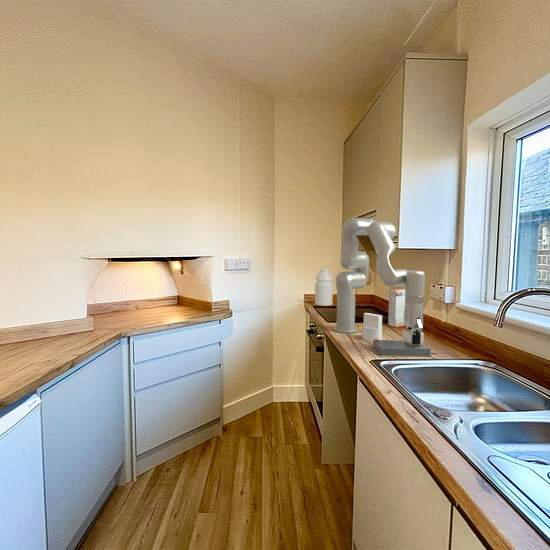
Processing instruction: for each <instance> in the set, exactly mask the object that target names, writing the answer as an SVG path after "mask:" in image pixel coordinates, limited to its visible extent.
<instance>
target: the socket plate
mask: <svg viewBox="0 0 550 550" xmlns="http://www.w3.org/2000/svg"><path fill="white" fill-rule="evenodd" d="M372 347H373V348H374V349H375V350H376V352H377V353H378V354H379V355H380V354H381V355H380V356H382V355H415V356H414V357H431V355H432V353H431V351H432V348H430V347H428V346H427V345H425V344H424V343H420V344H419V346H408V345H407V341H405V340H404V339H401V340H400V339H382V340H379V339H374V340H373V341H372Z"/></svg>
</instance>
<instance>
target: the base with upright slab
mask: <svg viewBox="0 0 550 550" xmlns="http://www.w3.org/2000/svg"><path fill="white" fill-rule="evenodd" d="M364 339H365V340H364ZM374 339H379V340H383V315H381V314H375V313H369V312H363V325H362V340H364V341H367V340H368V342H373V340H374Z"/></svg>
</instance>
